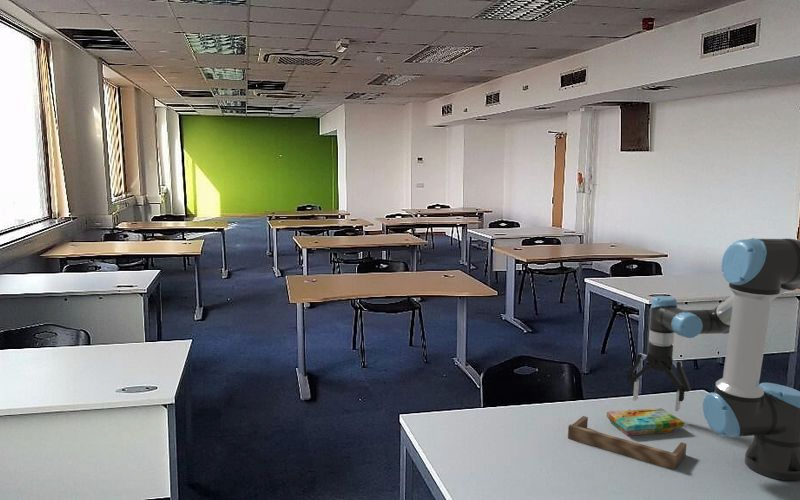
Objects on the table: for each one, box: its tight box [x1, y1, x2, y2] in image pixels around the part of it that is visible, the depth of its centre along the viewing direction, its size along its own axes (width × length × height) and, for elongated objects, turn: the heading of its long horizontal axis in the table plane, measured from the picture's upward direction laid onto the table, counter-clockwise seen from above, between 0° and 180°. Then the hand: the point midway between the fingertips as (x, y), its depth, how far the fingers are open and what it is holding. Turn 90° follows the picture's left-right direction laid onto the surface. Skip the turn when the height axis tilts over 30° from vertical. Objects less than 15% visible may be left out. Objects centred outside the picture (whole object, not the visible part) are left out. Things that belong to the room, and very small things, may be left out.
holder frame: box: [567, 415, 688, 471], centre depth 186 cm, size 31×12×4 cm, turn 52°
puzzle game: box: [606, 407, 685, 437], centre depth 200 cm, size 12×5×20 cm
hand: (655, 404), depth 209 cm, fingers open, 13 cm apart
